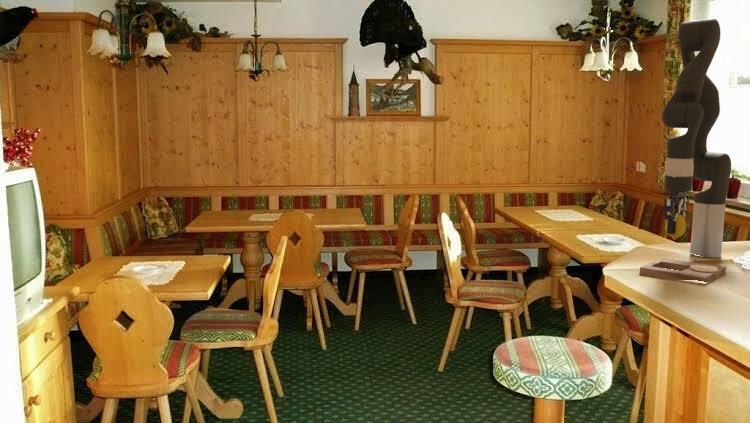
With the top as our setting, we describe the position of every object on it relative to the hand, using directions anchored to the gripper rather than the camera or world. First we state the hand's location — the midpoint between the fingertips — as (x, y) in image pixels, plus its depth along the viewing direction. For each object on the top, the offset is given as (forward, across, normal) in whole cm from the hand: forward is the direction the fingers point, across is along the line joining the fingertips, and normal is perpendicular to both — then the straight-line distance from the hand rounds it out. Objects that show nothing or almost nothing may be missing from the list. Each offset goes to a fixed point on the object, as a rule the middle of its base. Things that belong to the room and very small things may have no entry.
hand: (675, 232), depth 214 cm
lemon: (+2, 0, 0) cm, 2 cm away
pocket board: (+12, -1, +3) cm, 12 cm away
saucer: (+10, -2, +8) cm, 13 cm away
